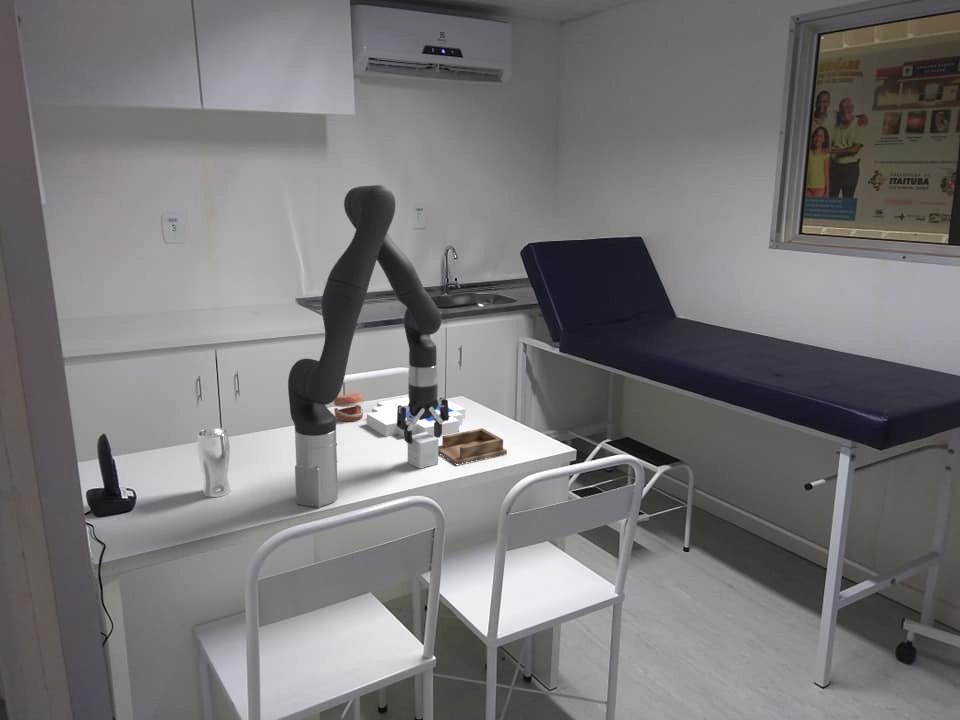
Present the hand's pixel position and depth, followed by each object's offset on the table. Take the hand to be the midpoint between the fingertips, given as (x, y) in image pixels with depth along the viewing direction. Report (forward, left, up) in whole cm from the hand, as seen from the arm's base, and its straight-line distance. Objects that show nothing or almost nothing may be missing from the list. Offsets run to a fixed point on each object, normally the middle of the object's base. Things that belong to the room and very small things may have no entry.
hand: (423, 439), depth 193 cm
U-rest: (+11, -10, -6) cm, 16 cm away
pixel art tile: (+29, +13, -7) cm, 33 cm away
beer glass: (-34, +39, -7) cm, 52 cm away
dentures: (+25, +33, -7) cm, 42 cm away
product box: (-1, 0, -7) cm, 7 cm away
